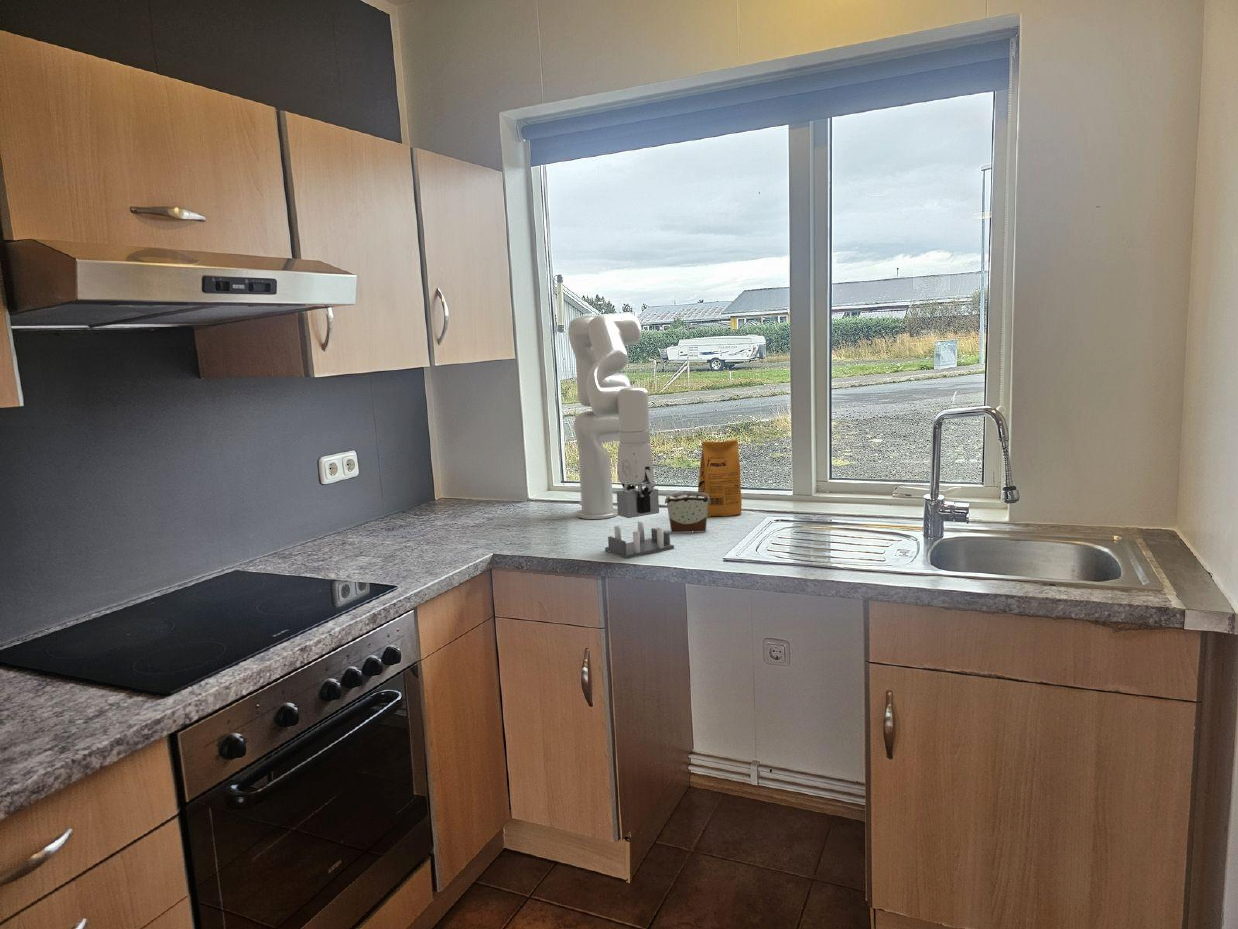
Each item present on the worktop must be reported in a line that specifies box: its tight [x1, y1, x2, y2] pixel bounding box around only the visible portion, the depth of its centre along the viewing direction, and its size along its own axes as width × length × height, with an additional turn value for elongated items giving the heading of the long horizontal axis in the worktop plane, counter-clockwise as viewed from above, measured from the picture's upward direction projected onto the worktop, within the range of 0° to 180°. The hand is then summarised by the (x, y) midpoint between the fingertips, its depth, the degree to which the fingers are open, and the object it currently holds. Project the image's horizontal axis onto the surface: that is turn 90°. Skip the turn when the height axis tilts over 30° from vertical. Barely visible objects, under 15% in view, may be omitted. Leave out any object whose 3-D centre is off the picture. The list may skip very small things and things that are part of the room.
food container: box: [664, 491, 711, 533], centre depth 220 cm, size 12×6×10 cm, turn 84°
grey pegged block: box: [604, 520, 675, 559], centre depth 201 cm, size 10×14×6 cm
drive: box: [616, 487, 660, 519], centre depth 200 cm, size 5×9×6 cm, turn 120°
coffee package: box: [697, 438, 743, 518], centre depth 237 cm, size 10×12×22 cm
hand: (638, 510), depth 200 cm, fingers closed on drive, 5 cm apart
